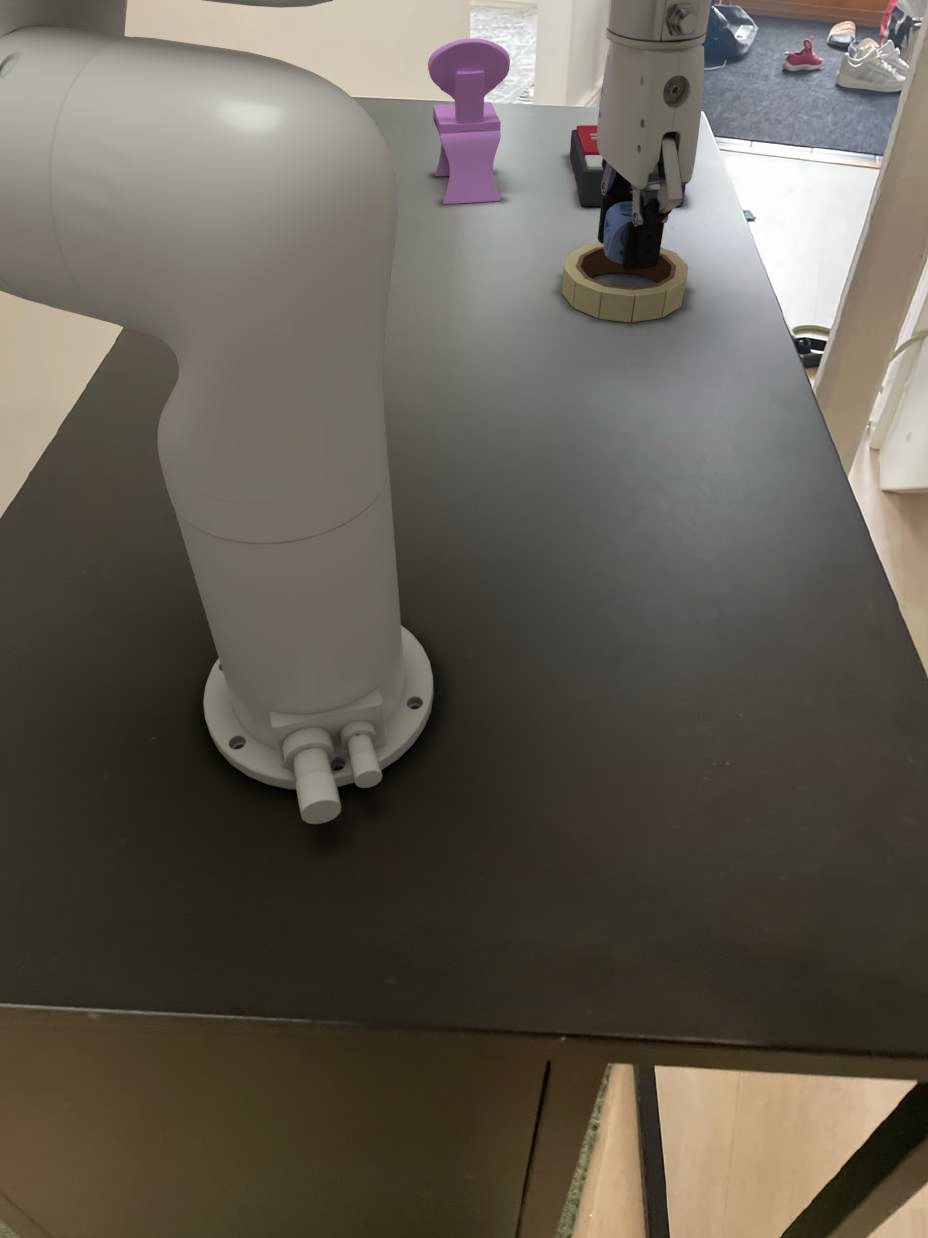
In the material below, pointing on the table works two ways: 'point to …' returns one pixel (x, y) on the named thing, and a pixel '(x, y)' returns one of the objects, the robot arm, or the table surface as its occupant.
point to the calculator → (594, 167)
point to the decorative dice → (616, 230)
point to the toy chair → (468, 117)
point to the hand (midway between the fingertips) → (626, 251)
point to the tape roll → (618, 299)
